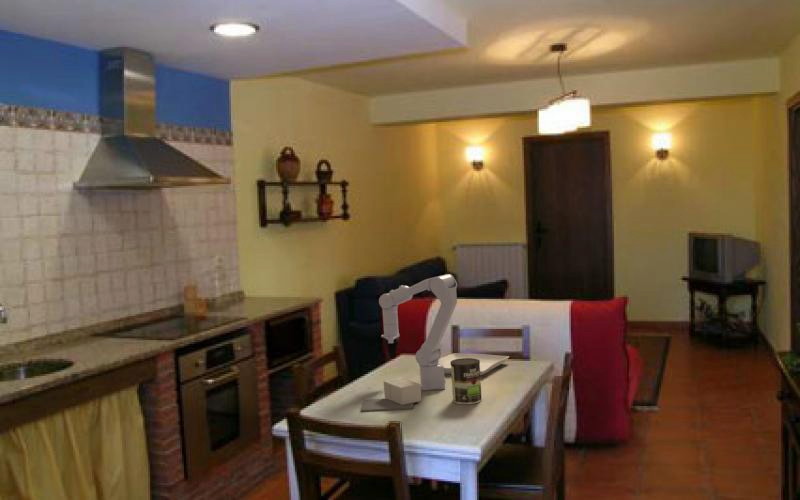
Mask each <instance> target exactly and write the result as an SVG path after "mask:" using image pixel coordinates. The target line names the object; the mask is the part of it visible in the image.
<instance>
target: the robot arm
mask: <svg viewBox="0 0 800 500" xmlns="http://www.w3.org/2000/svg"><path fill="white" fill-rule="evenodd" d="M457 288H458V283H457V280H456V279H455V277H454V276H453V275H452V274H449V273H445V274H443V275H439V276H434V277H431V278H430V277H429V278H426V279H424V280H421V281H420V282H418V283H415V284H413V285H411V286H408V285H403V284H402V285H399V286H398V288H396V289H391V290H389V292H388V293H383V294H382V295H380V297H379V298H378V305H379V306H380V307H381V309H382V321H383V324H382V325H383V334H381V336H380V337H381V338H384V339H385V340H384V344H385V346H386V348H387V351H388V355H389V358H390V359H396V357H397V350H398V346H399V345H398V344H399V342H400V338H399V337H400V333H399V317H398V310H399V309H398V307H399V305H400V304H403V303H405V302H408V301H410V300H412V299H413V296H414V295H416V294H419V293H421V292H423V291H426V290H427V291H430V292H432V293H433V295H434V296H435V297H436V298H437V299H438V300H439V303H440V305H439V308H438V310H437V314H436V315H435V317H434V321H433V323H432V325H431V328H430V331H429V333H428V336H427V338H426V340H425V341H424V343H422V344H421V346H420V349H418V350H417V351H416V353H415V361H416V363H418V366H419V375H420V377H419V378H420V383H419V384H420V387H421V391H431V390H432V391H433V390H445V389H446V378H445V374H444V364H438V363H439V359H441V358H442V347H443V345H442V344H441V343H442V340H443V338H444V335H445V333H446V331H447V328H448V326H449V324H450V321H451V318H452V316H453V313H454V310H455V308H456V306H457V303H458V298H457V296H458V295H457Z"/></svg>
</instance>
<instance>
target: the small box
mask: <svg viewBox="0 0 800 500" xmlns="http://www.w3.org/2000/svg"><path fill="white" fill-rule="evenodd" d="M420 384H421V383H419V382H415V381H413V380H410V379H407V378H405V377H397V378H393V379H392V378H391V379H388V380H383V394H384V399H385V398H386V399H389V400H391V401H394V402H396V403H398V404H401V405H405V404H410V403H419V402H422V390H421V387H420Z"/></svg>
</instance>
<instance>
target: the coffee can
mask: <svg viewBox="0 0 800 500" xmlns="http://www.w3.org/2000/svg"><path fill="white" fill-rule="evenodd" d="M450 364H451V374H450V375H451V386H452V387H451V389H452V390H451V391H452V402H453V404H457V405H461V406H462V405H465V406H466V405H467V406H468V405H476V404H479V403H480V402H482V400H483V398H482V383H481V382H482V381H481V375H480V360H478V359H473V358H462V359H455V360H452V361H451V362H450Z"/></svg>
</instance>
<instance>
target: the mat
mask: <svg viewBox="0 0 800 500" xmlns="http://www.w3.org/2000/svg"><path fill="white" fill-rule="evenodd" d="M414 405H415V404H414V403H410V404H405V405H401V404H398V403H396V402H394V401H391V400H389V399H386V398H385V397H384V398H369V399H364V400H363V403H362V406H361V408H360V412H361V413H364V412H365V413H367V412H385V411H402V410H403V411H404V410H413V409H414Z"/></svg>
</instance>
